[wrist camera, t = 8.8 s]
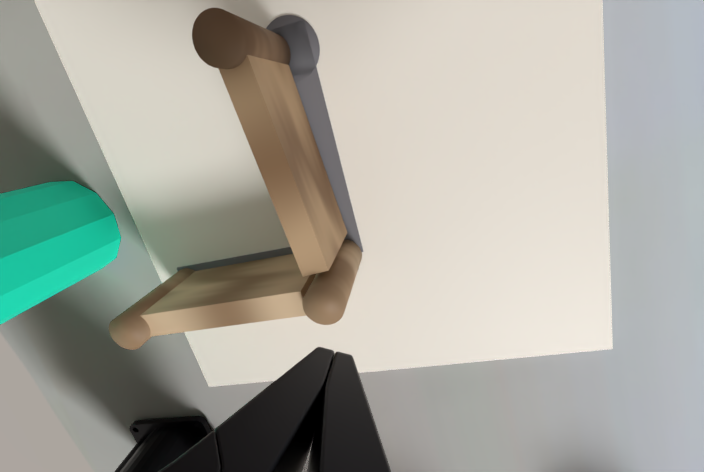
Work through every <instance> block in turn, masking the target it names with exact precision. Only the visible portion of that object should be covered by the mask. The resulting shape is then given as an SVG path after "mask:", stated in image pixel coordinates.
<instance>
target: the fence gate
mask: <svg viewBox="0 0 704 472" xmlns="http://www.w3.org/2000/svg"><path fill="white" fill-rule="evenodd" d="M192 40H193V45H194V48H195V50H196V52H197V54H198V56H199V57H200V58H201V59H202V60H203V61H204V62H205V63H206V64H208V65H209V66H212V67H214V68H218V69H219V71H220V74H221V76H222V79H223V81H224V84H225V86H226V89H227V91H228V93H229V96H230V98H231V101H232V103H233V106H234V108H235V111H236V113H237V116H238V118H239V121H240V123H241V126H242V128H243V131H244V133H245V135H246V138H247V140H248V143H249V145H250V148H251V150H252V153H253V155H254V158H255V160H256V163H257V165H258V168H259V170H260V173H261V175H262V178H263V180H264V182H265V185H266V187H267V190H268V192H269V195H270V197H271V200H272V202H273V205H274V207H275V210H276V212H277V215H278V217H279V220H280V222H281V224H282V227H283V229H284V232H285V234H286V237H287V239H288V242H289V244H290V247H291V249H292V252H293V254H294V257H295V259H296V262H297V264H298V267H299V269H300V271H301V274H302V276H303V277H304V276H308V275H312V274H317V273H321V272H325V271H329V269H330V267H331V265H332V263H333V261H334V259H335V257H336V255H337V253H338V251H339V249H340V247H341V245H342V243H343V241H344V239H345V237H346V235H347V230H346V227H345V224H344V221H343V218H342V216H341V213H340V210H339V207H338V204H337V201H336V198H335V196H334V193H333V190H332V187H331V184H330V181H329V178H328V176H327V173H326V170H325V167H324V164H323V161H322V158H321V156H320V153H319V150H318V147H317V144H316V141H315V138H314V136H313V133H312V130H311V127H310V124H309V121H308V119H307V116H306V113H305V110H304V107H303V104H302V101H301V99H300V96H299V93H298V90H297V87H296V84H295V81H294V79H293V76H292V73H291V70H290V67H289V63H290V58H291V53H290V48H289V45H288V43H287V42H286V40H285V39H284V38H283V37H282V36H280V35H279V34H276V33H274V32H272V31H270V30H268V29H265V28H263V27H261V26H259V25H257V24H254V23H252V22H250V21H248V20H245V19H243V18H241V17H239V16H237V15H234V14H232V13H230V12H228V11H225V10H223V9H220V8H209V9H206V10H204V11H203V12H201V13H200V14H199V15H198V17H197V18H196V20H195V22H194V25H193V29H192Z"/></svg>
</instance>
